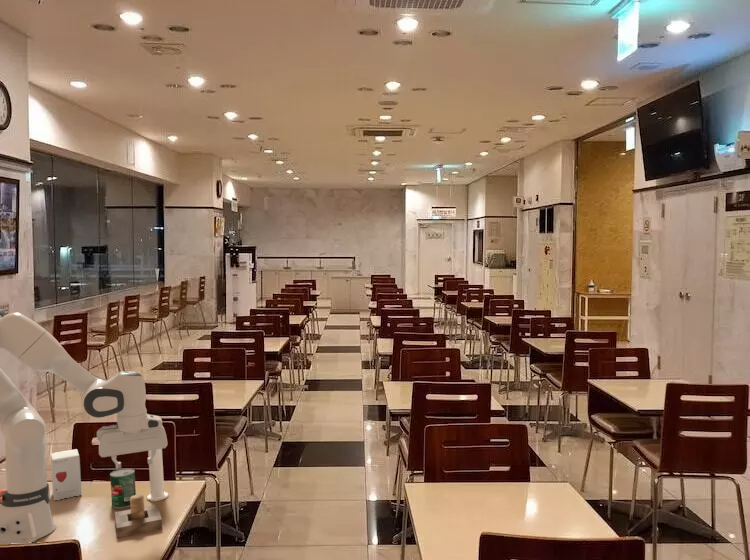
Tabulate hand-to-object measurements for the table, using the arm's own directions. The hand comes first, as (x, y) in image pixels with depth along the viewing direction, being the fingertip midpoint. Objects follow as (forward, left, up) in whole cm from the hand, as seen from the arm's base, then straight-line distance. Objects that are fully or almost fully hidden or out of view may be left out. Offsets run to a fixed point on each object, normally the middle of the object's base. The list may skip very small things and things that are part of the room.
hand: (134, 466), depth 208 cm
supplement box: (-21, +40, -19) cm, 49 cm away
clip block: (0, 0, -19) cm, 19 cm away
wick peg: (0, 0, -19) cm, 19 cm away
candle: (+8, +21, -19) cm, 30 cm away
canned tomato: (-3, +21, -19) cm, 29 cm away
